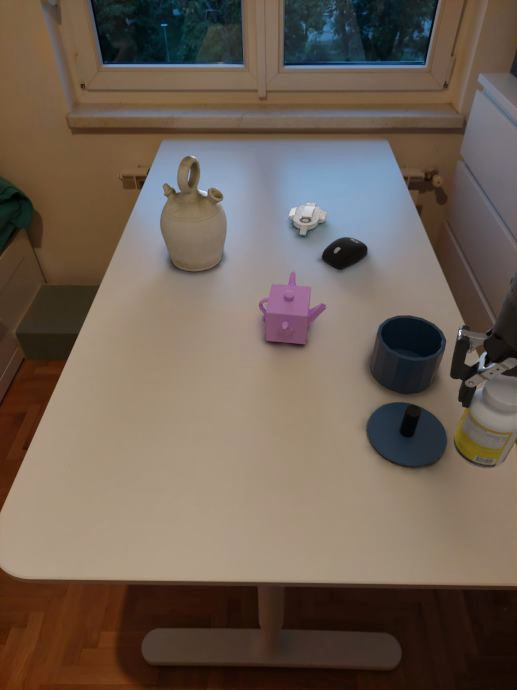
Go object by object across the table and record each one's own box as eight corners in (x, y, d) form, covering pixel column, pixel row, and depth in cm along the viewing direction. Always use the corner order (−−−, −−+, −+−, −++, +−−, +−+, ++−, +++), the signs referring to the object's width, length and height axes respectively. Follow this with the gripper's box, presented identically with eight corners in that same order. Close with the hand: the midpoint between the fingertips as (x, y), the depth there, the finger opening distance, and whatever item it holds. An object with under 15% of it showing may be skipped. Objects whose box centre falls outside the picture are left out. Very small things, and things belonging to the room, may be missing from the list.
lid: (449, 417, 86) (459, 392, 81) (441, 479, 77) (452, 454, 73) (374, 398, 89) (380, 372, 85) (359, 454, 81) (364, 429, 76)
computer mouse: (374, 254, 123) (377, 240, 120) (339, 272, 118) (341, 258, 115) (352, 241, 127) (354, 227, 125) (317, 258, 122) (319, 244, 119)
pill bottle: (493, 427, 67) (523, 365, 59) (514, 469, 62) (550, 408, 54) (444, 430, 66) (468, 369, 58) (462, 472, 62) (490, 412, 54)
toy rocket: (294, 205, 142) (294, 197, 140) (328, 209, 140) (329, 201, 138) (283, 234, 130) (283, 226, 129) (320, 238, 129) (320, 230, 127)
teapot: (321, 366, 95) (325, 327, 89) (252, 359, 97) (251, 321, 90) (325, 306, 108) (329, 269, 102) (264, 302, 110) (264, 264, 103)
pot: (438, 357, 97) (449, 323, 91) (430, 401, 89) (442, 367, 83) (377, 342, 100) (384, 309, 94) (364, 383, 92) (371, 350, 86)
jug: (241, 253, 124) (237, 153, 107) (199, 283, 115) (188, 179, 98) (195, 234, 131) (185, 137, 113) (152, 261, 122) (134, 160, 104)
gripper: (469, 304, 47) (430, 417, 58) (645, 340, 43) (566, 453, 54) (474, 262, 52) (437, 373, 63) (632, 290, 48) (562, 403, 59)
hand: (497, 410), depth 59 cm, fingers closed on pill bottle, 6 cm apart
